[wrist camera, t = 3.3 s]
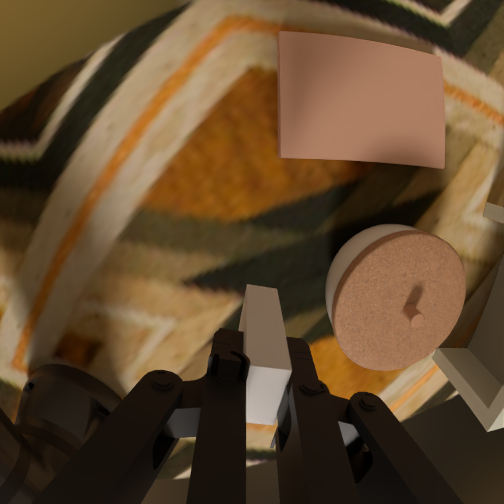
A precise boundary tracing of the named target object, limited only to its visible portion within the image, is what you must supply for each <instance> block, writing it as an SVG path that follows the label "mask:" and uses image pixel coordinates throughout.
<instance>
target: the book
mask: <svg viewBox="0 0 504 504" xmlns="http://www.w3.org/2000/svg"><path fill="white" fill-rule="evenodd" d="M277 80H278V158H307V159H334V160H353V161H368V162H381V163H393V164H404V165H414V166H424V167H432V168H441V169H444V165H445V102H444V83H443V70H442V60H441V57H439V56H436V55H432V54H428V53H425V52H421V51H417V50H413V49H409V48H404V47H400V46H395V45H391V44H386V43H380V42H375V41H369V40H363V39H357V38H350V37H343V36H335V35H327V34H317V33H305V32H290V31H279V33H278V37H277Z"/></svg>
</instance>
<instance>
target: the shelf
mask: <svg viewBox="0 0 504 504" xmlns="http://www.w3.org/2000/svg"><path fill="white" fill-rule="evenodd" d="M483 216H484V217H486V218H489V219H492V220H494V221H497V222H500V223H502V224H504V207H501V206H498V205H495V204H491V203H488V202H486V206H485V210H484V215H483ZM433 360H434V361H435V363H436V364H437V365H438V366H439V368H440V369H441V370H442V372H443V373H444V374H445V375H446V377H447V378H448V379H449V381H450V382H451V383H452V384H453V386H454V387H455V388H456V390H457V391H458V392H459V394H460V395H461V396H462V398H463V399H464V400H465V402H466V403H467V404H468V405H469V407H470V408H471V410H472V411H473V412H474V414H475V415H476V416H477V418H478V419H479V421H480V422H481V423H482V425H483V426H484V428H485V429H486V430H487V431H492V430H496V429H499V428H503V427H504V253H503V257H502V260H501V263H500V266H499V269H498V272H497V275H496V278H495V281H494V284H493V287H492V290H491V293H490V295H489V298H488V301H487V303H486V306H485V308H484V311H483V313H482V316H481V318H480V320H479V323H478V325H477V328H476V330H475V332H474V334H473V337H472V339H471V341H470V343H469V345H468V347H467V348H437V350H436V352H435V354H434V356H433Z"/></svg>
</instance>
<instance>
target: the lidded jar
mask: <svg viewBox="0 0 504 504" xmlns="http://www.w3.org/2000/svg"><path fill="white" fill-rule="evenodd" d="M465 295H466V277H465V271H464V267H463V264H462V262H461V259H460V257H459V255H458V254H457V252H456V251H455V249H454V248H453V247H452V246H451V245H450V244H449V243H448V242H446V241H444V240H443V239H441V238H440V237H438V236H436V235H433V234H431V233H428V232H425V231H422V230H419V229H416V228H414V227H411V226H406V225H399V224H382V225H377V226H373V227H370V228H368V229H365V230H363V231H361V232H360V233H358V234H356V235H355V236H353V237H352V238H351V239H349V240H348V241H347V242H346V243H345V244H344V245H343V246H342V247H341V249H340V250H339V252H338V253H337V254H336V256H335V258H334V260H333V262H332V264H331V266H330V269H329V272H328V275H327V280H326V305H327V311H328V315H329V318H330V321H331V324H332V326H333V330H334V333H335V337H336V339H337V342H338V343H339V345H340V347H341V349H342V351H343V352H344V353H345V354H346V356H347V357H348V358H349V359H351V360H352V361H353V362H354V363H356V364H358V365H360V366H362V367H365V368H368V369H371V370H380V371H387V370H395V369H401V368H404V367H407V366H410V365H412V364H414V363H416V362H418V361H420V360H422V359H423V358H425V357H426V356H428V355H429V354H430V353H432V352H433V351H434V350H435V349H437V348H438V347H439V346H440V344H441V343H442V342H443V341H444V340H445V339H446V338H447V336H448V335H449V334H450V333H451V331H452V329H453V328H454V326H455V324H456V322H457V320H458V318H459V316H460V314H461V311H462V308H463V304H464V300H465Z"/></svg>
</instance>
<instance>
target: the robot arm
mask: <svg viewBox="0 0 504 504" xmlns="http://www.w3.org/2000/svg"><path fill="white" fill-rule="evenodd" d="M276 418H277V419H278V426H277V429H276V432H275V435H274V437H273V440H272V443H271V447H270V448H274V445H275V444H276V457H277V469H278V483H279V497H280V504H464V503H463V502H462V501H461V500H460V498H459V497H458V496H457V494H456V493H455V492H454V491H453V489H452V488H451V487H450V486H449V484H448V483H447V482H446V480H445V479H444V478H443V477H442V475H441V474H440V473H439V471H438V470H437V469H436V468H435V466H434V465H433V464H432V462H431V461H430V460H429V459H428V458H427V456H426V455H425V454H424V452H423V451H422V450H421V449H420V447H419V446H418V445H417V443H416V442H415V441H414V440H413V438H412V437H411V436H410V435H409V433H408V432H407V431H406V430H405V428H404V427H403V426H402V424H401V423H400V422H399V421H398V419H397V418H396V417H395V416H394V414H393V413H392V412H391V411H390V409H389V408H388V407H387V406H386V404H385V403H384V402H383V401H382V400H381V399H380V398H379V397H378V396H376V395H374V394H372V393H368V392H358V393H355V394H353V395H352V397H351V398H350V400H348V399H344V398H341V397H337V396H334V395H332V394H330V392H329V389H328V388H327V386H326V385H325V384H324V383H323V382H322V381H320V380H318V376H317V373H316V369H315V365H314V362H313V358H312V355H311V351H310V348H309V345H308V344H307V343H306V342H305V341H304V340H303V339H301V338H293V337H286V335H285V329H284V324H283V319H282V313H281V308H280V303H279V298H278V292H277V289H274V288H267V287H261V286H254V285H248V284H247V288H246V293H245V299H244V304H243V309H242V315H241V320H240V325H239V331H236V330H229V329H223V328H220V329H219V330H218V331H217V332H216V333H215V334H214V338H213V344H212V350H211V354H210V356H209V360H208V368H207V373H206V374H205V375H204V376H203V377H202V378H200V379H197V380H193V381H182V379H181V378H180V377H179V376H178V375H177V374H175V373H173V372H170V371H166V370H154V371H151V372H148V373H147V374H146V375H144V376H143V377H142V379H141V380H140V381H139V382H138V383H137V384H136V385H135V387H134V388H133V389H132V390H131V391H130V392H129V393H128V394H127V396H126V397H125V398H124V399H123V400H121V399H120V398H119V397H118V396H117V395H116V394H115V393H114V392H113V391H111V390H110V389H109V388H108V387H107V386H105V385H104V384H102V383H101V382H100V381H98V380H97V379H95V378H93V377H92V376H90V375H88V374H86V373H84V372H82V371H79V370H77V369H74V368H71V367H68V366H64V365H56V364H50V365H44V366H42V367H39V368H38V369H36V370H35V371H34V373H33V374H32V375H31V376H30V378H29V379H28V380H27V382H26V383H25V386H24V388H23V392H22V396H21V400H20V404H19V408H18V412H17V417H16V422H15V424H13V423H12V422H11V420H10V419H9V418H8V417H7V415H6V414H5V413H4V411H3V410H2V409H1V407H0V504H141V503H142V501H143V499H144V498H145V496H146V494H147V493H148V491H149V489H150V488H151V486H152V485H153V483H154V481H155V480H156V478H157V476H158V475H159V473H160V471H161V470H162V468H163V466H164V465H165V463H166V461H167V460H168V458H169V456H170V455H171V453H172V451H173V449H174V448H175V446H176V444H177V443H178V441H179V438H184V437H196V442H195V449H194V455H193V462H192V468H191V475H190V482H189V488H188V496H187V503H186V504H246V422H247V423H256V424H266V425H274V424H275V421H276ZM365 444H366V446H367V447H368V449H369V450H368V449H367V448H366V447H365Z"/></svg>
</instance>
